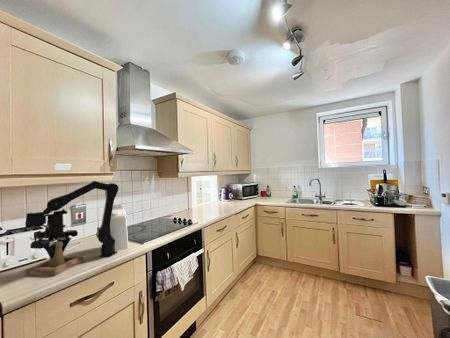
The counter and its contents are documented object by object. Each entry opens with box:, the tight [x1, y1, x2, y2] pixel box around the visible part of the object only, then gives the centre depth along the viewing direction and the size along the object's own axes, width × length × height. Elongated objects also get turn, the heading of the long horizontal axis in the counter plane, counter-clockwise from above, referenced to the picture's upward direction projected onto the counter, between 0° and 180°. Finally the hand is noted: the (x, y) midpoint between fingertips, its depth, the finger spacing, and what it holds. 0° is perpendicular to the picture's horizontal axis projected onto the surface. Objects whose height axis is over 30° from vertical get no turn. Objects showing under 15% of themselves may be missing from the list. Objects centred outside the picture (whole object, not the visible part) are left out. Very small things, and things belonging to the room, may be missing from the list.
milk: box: [110, 203, 129, 251], centre depth 122 cm, size 12×12×26 cm
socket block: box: [25, 255, 84, 277], centre depth 97 cm, size 15×15×2 cm
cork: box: [49, 240, 65, 268], centre depth 97 cm, size 6×6×11 cm
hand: (56, 256), depth 97 cm, fingers closed on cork, 4 cm apart
